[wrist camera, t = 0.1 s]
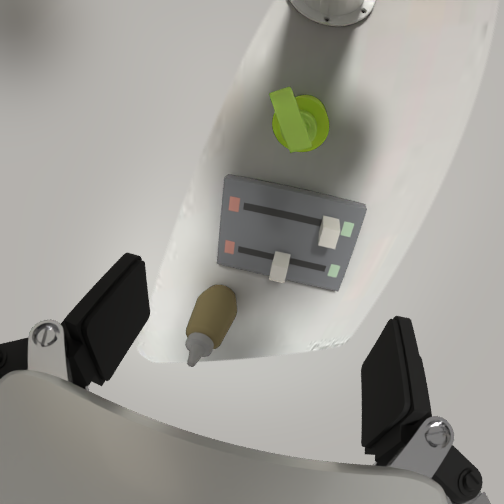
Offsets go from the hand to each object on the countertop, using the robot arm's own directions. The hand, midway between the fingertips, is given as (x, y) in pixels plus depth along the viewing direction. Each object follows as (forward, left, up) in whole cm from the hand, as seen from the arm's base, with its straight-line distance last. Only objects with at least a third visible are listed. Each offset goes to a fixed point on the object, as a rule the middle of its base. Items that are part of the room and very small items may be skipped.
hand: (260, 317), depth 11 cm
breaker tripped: (+20, 0, -34) cm, 40 cm away
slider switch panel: (+16, 0, -37) cm, 40 cm away
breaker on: (+12, +6, -34) cm, 37 cm away
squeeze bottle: (+33, -10, -37) cm, 50 cm away
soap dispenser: (-4, -1, -37) cm, 37 cm away
